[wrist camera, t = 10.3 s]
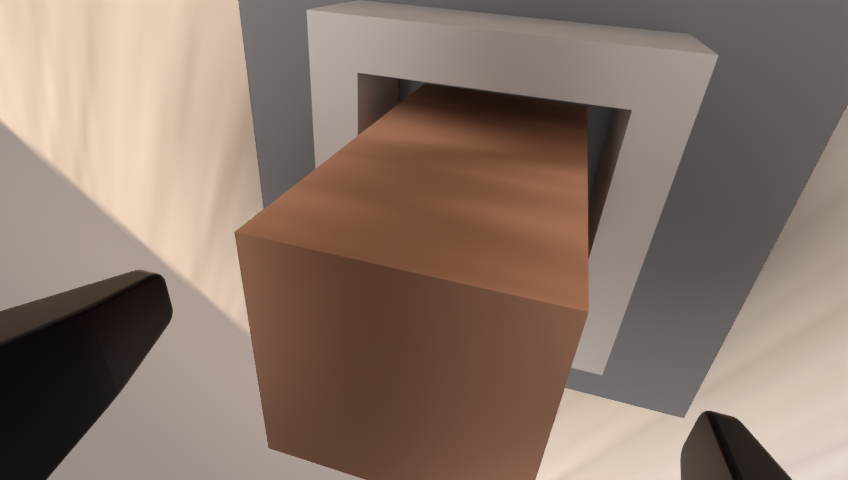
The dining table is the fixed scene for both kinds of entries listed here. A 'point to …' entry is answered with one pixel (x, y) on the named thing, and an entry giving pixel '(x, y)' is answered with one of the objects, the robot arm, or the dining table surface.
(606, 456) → the dining table surface
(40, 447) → the robot arm
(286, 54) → the socket
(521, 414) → the peg
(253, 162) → the dining table surface
